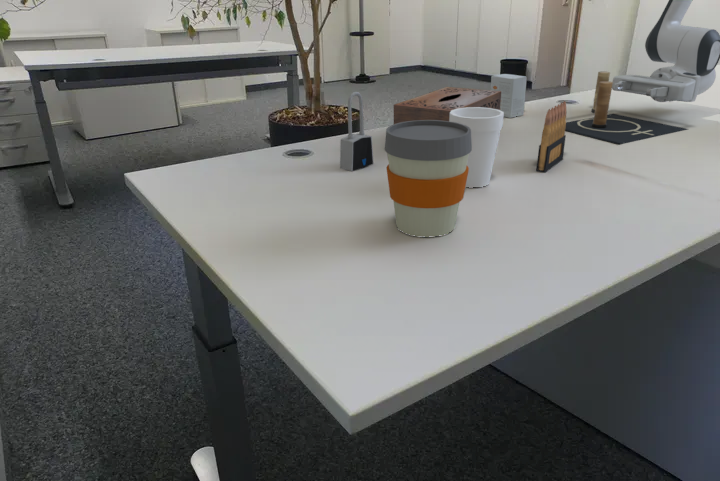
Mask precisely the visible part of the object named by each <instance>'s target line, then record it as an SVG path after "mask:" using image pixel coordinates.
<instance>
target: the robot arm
mask: <svg viewBox="0 0 720 481" xmlns="http://www.w3.org/2000/svg"><path fill="white" fill-rule="evenodd" d="M692 3H693V0H668V1H667V4H666V6H665V7H664V9H663V11H662V13H661V15H660V17H659V18H658V20H657V22H656V23H655V25H654V26H653V27H652V29H651V31H650V32H649V34H648V35H647V37H646V39H645V43H644V47H645V48H644V49H645V52H646V54H647V56H648V58H649V59H650V60H651V61H652V62H655V63H656V62H657V63H668V64H674V65H671V66H664V67H659V68H656V70H654V71H652V73H651V74H650V76H647V75H640V74H623V75H621V74H620V75H615V76H614V77H613V79H612V82H613V84H612V90H613V91H615V92H623V93H629V94H635V95H636V94H637V95H644V96H647V97H650V98H651V99H652V100H654V101H655V102H657V103H666V102H669V103H671V102H685V103H692V102H695V101H696V99H697V97H698V96H699V95H701V94H703V93H705V92H706V91H708V90H709V89H710V88H711V87H712V86H713V85H714V83H715V81H716V77H717V72H716V69H715V68H716V67H717V65H718V63H719V62H720V33H719V32H718V31H717V29H712V28H708V27H707V28H706V27H701V26H700V27H699V26H689V25H683V24H682V21H683V19H684V17H685V15H686V14H687V12H688V10H689V8H690V6H691V4H692ZM681 24H682V25H681Z"/></svg>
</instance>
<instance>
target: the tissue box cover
mask: <svg viewBox="0 0 720 481" xmlns="http://www.w3.org/2000/svg"><path fill="white" fill-rule="evenodd" d="M501 92H502V91H492V90H491V89H480V88H479V89H477V88H466V87H452V86H445V87H442V88H439V89H436V90H434V91H430V92H428V93H423V94H422V95H419V96H416V97H413V98H409V99H407V100H406V99H405V100H403V101H401V102H397V103H394V104H393V124H397V123H401V122H406V121H416V120H440V121H449V115H450V112H451V110H454V109H458V108H466V107H483V108H492V109H497V110H500V104H501Z"/></svg>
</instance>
